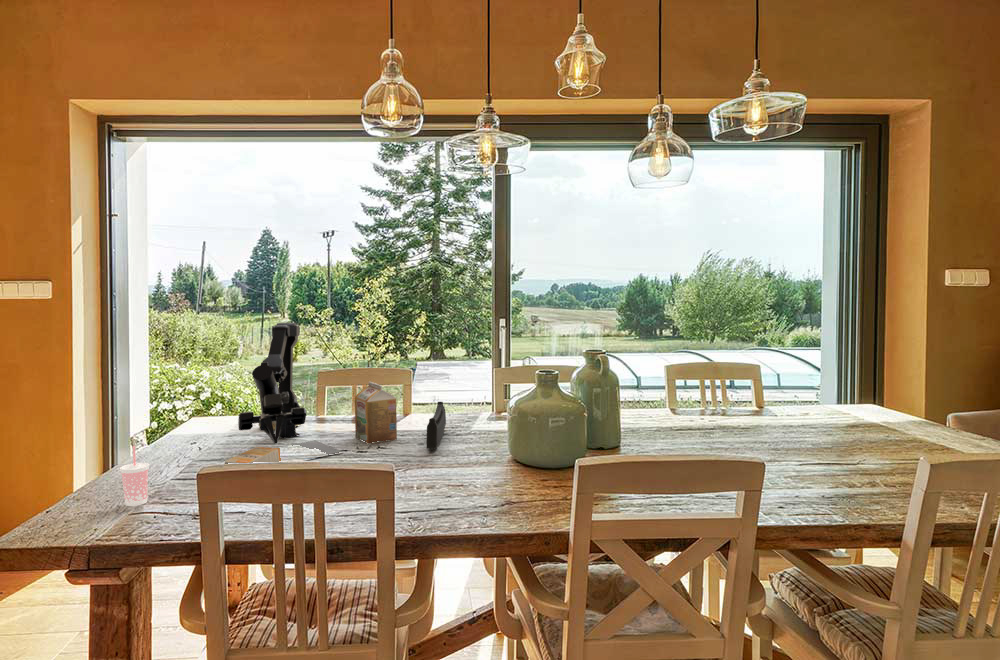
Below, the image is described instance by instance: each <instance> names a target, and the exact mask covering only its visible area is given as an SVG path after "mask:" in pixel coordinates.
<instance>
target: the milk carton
mask: <svg viewBox="0 0 1000 660" xmlns="http://www.w3.org/2000/svg"><path fill="white" fill-rule="evenodd" d="M397 415H398V414H397V398H396V396H394V395H393V394H391V393H389V392H388V391H386V390H384V389H383V385H381V384H378V383H376V382H372V381H368V385H367V386H366V387H365V388H363V389H362V390H361V391H359V392H358V393H356V395H355V396H354V419H355V421H354V422H355V425H354V426H355V427H354V428H355V430H354V432H355V438H356V437H357V438H358V440H359V439H361V440H363V441H365V442H367V443H371V444H373V443H372V442H377V441H384V442H387V441H386V440H390V441H395V439H396V440H397V439H398V438H397V437H398V435H397V433H398V432H397V431H398V430H397V429H398V426H397V424H398V423H397ZM357 438H356V439H357ZM361 440H360V441H361ZM363 441H362V442H363ZM365 442H364V443H365ZM367 443H366V444H367ZM377 443H378V442H377Z"/></svg>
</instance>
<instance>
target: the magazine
mask: <svg viewBox="0 0 1000 660" xmlns="http://www.w3.org/2000/svg"><path fill="white" fill-rule="evenodd" d="M446 415H447V414H446V407H445V406H444V402H443V401H437V405H436V409H435V412H434V415H433V416H432V417H430V418H429V419H428V420H429V421H428V423H427V425H426V448H425V449H426V450H437V448H438V447H439V446H440V444H441V442H442V440H443V436H444V433H445V429H446V424H447V419H446V418H447V417H446Z"/></svg>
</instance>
